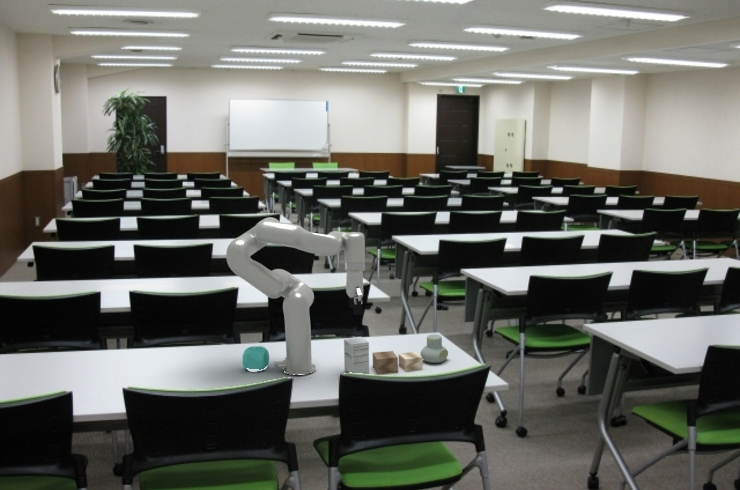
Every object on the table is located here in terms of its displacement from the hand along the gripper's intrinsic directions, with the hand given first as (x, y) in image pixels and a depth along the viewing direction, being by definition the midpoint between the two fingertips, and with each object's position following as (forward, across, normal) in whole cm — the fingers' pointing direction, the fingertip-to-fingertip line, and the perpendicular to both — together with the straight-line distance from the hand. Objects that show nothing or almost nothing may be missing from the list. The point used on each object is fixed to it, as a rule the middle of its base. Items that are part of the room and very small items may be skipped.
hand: (355, 310), depth 271 cm
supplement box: (+24, 0, 0) cm, 24 cm away
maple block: (+24, 0, +21) cm, 32 cm away
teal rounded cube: (+24, -13, -37) cm, 46 cm away
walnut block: (+24, 0, +11) cm, 27 cm away
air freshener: (+24, -5, +32) cm, 40 cm away
